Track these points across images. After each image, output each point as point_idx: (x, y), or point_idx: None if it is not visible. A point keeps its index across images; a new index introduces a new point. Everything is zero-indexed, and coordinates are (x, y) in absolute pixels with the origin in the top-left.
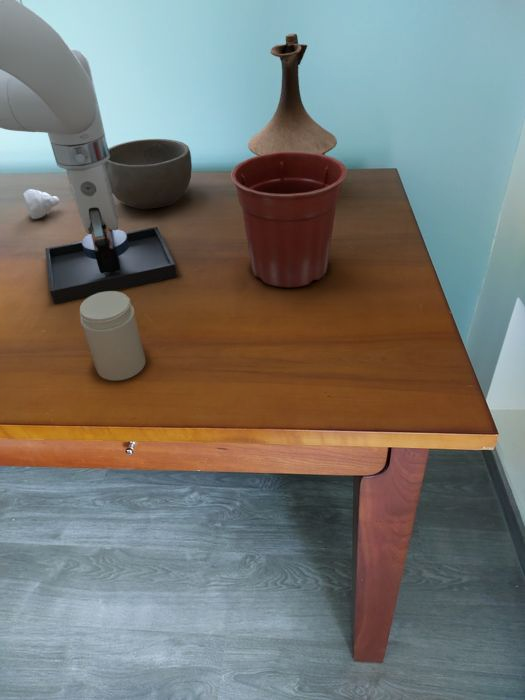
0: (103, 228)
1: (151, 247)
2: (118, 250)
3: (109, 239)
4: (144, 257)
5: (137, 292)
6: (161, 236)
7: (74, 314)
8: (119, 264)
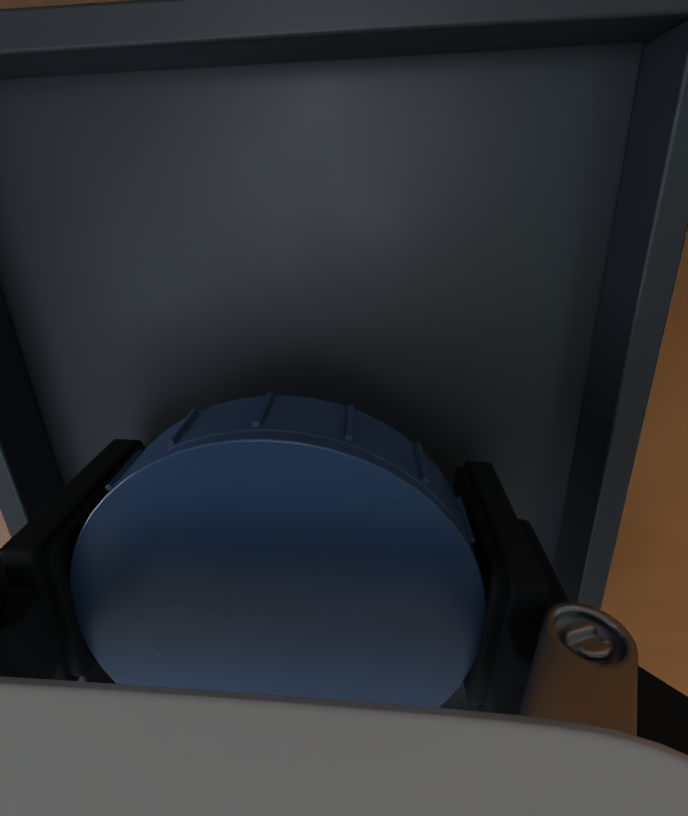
0: (70, 616)
1: (148, 165)
2: (459, 515)
3: (634, 729)
4: (302, 252)
5: (678, 361)
6: (60, 10)
7: (674, 653)
8: (476, 471)
